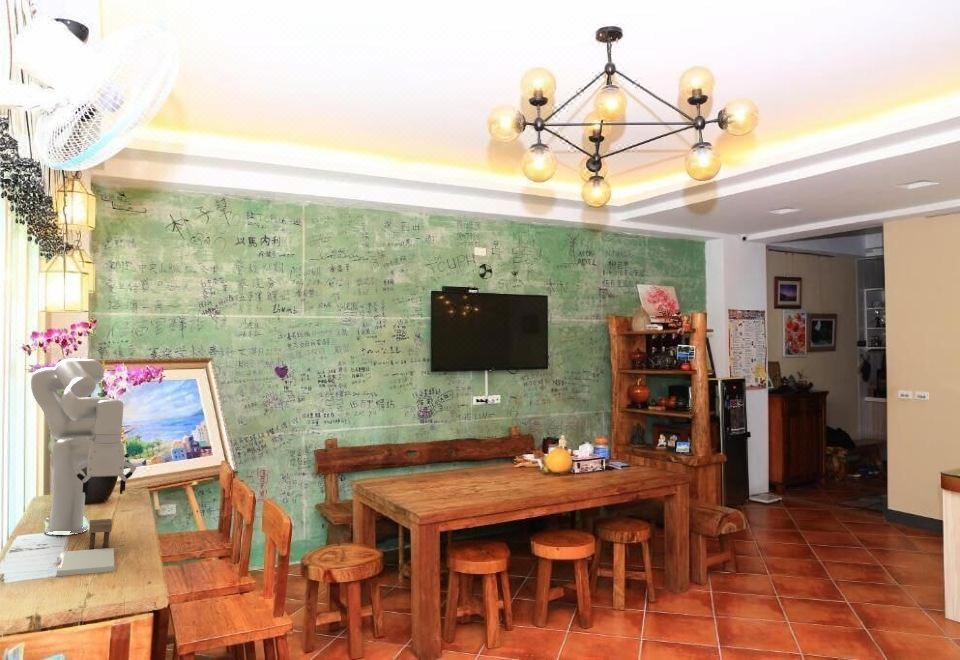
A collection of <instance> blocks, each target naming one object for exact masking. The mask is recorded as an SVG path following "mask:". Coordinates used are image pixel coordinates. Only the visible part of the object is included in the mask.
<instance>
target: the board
mask: <svg viewBox="0 0 960 660" xmlns="http://www.w3.org/2000/svg"><path fill="white" fill-rule="evenodd" d="M64 552H65V556H64V561H63V564H62V567H61V568H60V567H59V568H56V577H64V576H65V577H66V576H74V575H75V576H76V575H78V576H79V575H87V574H99V573H101V574H102V573H109V572H110V573H111V572H115V549H114V547H108V548H106V549H103V548H94V549H92V550H89V549H82V550H81V549H80V550H67V551H64Z"/></svg>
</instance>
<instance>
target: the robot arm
mask: <svg viewBox="0 0 960 660" xmlns="http://www.w3.org/2000/svg"><path fill="white" fill-rule="evenodd" d="M104 371H105V370H104V366H103V364H102V363H101V362H100V361H99V360H97V359H95V358H94V359H93V358H92V359H91V358H89V359H88V358H67V359H66V358H65V359H63V360H61V361H58V363H57V364H56V365H55V367H53V366H52V367H43V368H39V369H37V370H35V372H33V374H32V376H31V380H30V385H31V386H30V388H31V393H32V396H33V398H34V399H35V401H36V403H37V404H38V406H39V408H40V409H41V410H42V412H43V414H44V417H45V421H46V424H47V427H48V429H49V431H50V434H51V437H52V438H53V439H55V440H57V441H56V442H55V443H54V444H53V447H52V460H53V485H52V497H51V508H50V515H49V517H46V518H45V519H44V522H45V523H48V526H47V527H45V528H44V529H43V533H48V532H53V531H71V532H70V533H74V534H75V533H81V532H83V531H84V530H86V529H87V528H88V529H89V526H88V525H86V524H85V525H86V527H83V524H84V515H85V514H84V512H85V503H86V502H85V501H86V496H88V494H89V493H88V492H89V480H90V479H91V478H93V477H94V478H96V477H97V478H98V477H99V478H101V477H102V478H103V477H119V478H120V479H121V480H119V481H120V484H119V495H123V492H125V491H126V482H127V480H128V479H129V478H131V477H132V476H133V474H134V473H135V471H136V470H137V466H136V465H134V464H133V463H131V462H128V461H126V460H125V446H124V445H125V444H124V443H123V442H122V432H123V417H124V403H123V401H121V400H119V399H115V398H113V397H107V396H106V397H105V396H103V397H102V396H101V397H96V396H95V397H93V396H92V397H90V396H91V395H92V394H93V393H94V392H95V390H96V388H97V387H96V386H97V385H98V384H99V383H101V381H102V379H103V377H104V373H105V372H104ZM59 392H63V393H62V394H61V393H59ZM125 468H128V469H129V471H128V472H127V473H126V474H125V473H124V471H125ZM83 469H86V474H85V472H84V471H83ZM82 527H83V528H82ZM81 534H82V533H81Z"/></svg>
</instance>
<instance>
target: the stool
mask: <svg viewBox="0 0 960 660" xmlns="http://www.w3.org/2000/svg"><path fill="white" fill-rule="evenodd" d="M112 521H113V520H112V518H104V519H102V518H101V519H90V520H89V526H88V533H89V545H88V547H89V548H88V550H92V549H95V544H96V535H97V534H98V533H103V541H102V542H103V543H102V549H106V548H109V543H110V533H111V532H112V524H113V523H112ZM96 533H97V534H96Z"/></svg>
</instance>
